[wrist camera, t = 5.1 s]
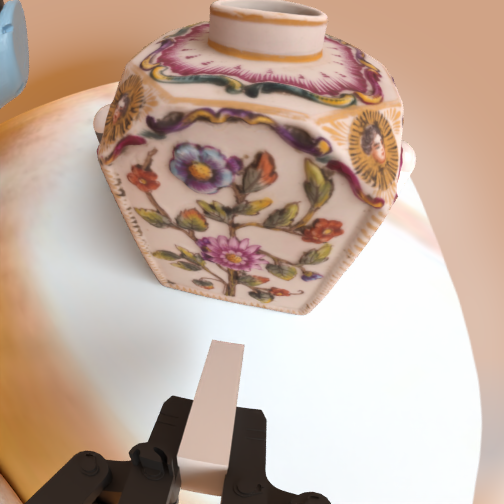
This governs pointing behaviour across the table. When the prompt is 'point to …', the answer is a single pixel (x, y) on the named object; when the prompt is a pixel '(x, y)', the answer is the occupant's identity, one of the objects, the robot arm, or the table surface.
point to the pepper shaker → (100, 121)
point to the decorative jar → (253, 154)
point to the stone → (7, 493)
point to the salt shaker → (406, 164)
